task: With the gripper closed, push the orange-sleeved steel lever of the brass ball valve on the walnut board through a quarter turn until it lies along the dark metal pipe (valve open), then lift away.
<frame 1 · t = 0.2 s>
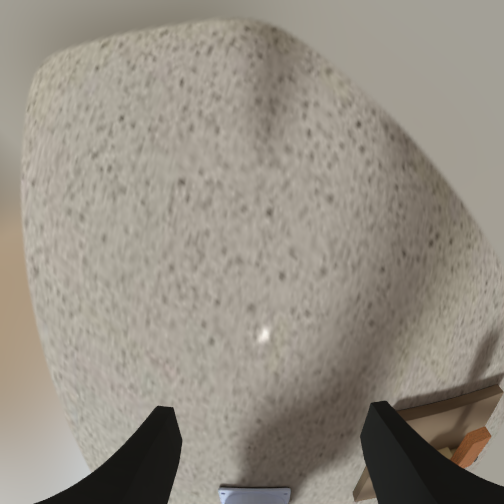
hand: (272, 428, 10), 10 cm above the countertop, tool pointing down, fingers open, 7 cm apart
valve lever: (455, 468, 18), point 6 cm above the countertop, hinge at 0.0°
valve base: (421, 452, 25), on the countertop
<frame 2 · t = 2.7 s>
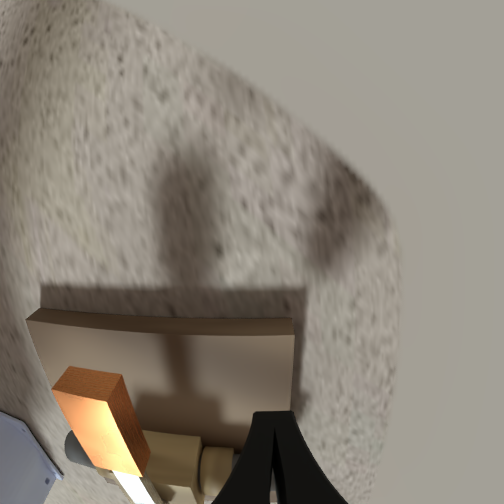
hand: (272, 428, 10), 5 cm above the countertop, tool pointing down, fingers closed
valve lever: (128, 469, 10), point 6 cm above the countertop, hinge at 0.0°
valve base: (174, 435, 17), on the countertop
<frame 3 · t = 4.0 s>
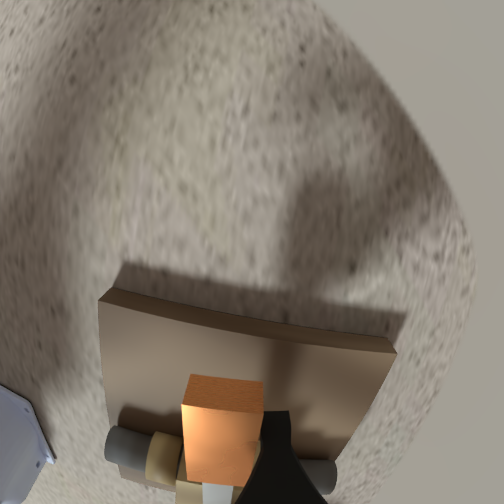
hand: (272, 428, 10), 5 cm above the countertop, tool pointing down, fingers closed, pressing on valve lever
valve lever: (218, 480, 10), point 6 cm above the countertop, hinge at 5.4°, touching gripper
valve base: (224, 436, 17), on the countertop
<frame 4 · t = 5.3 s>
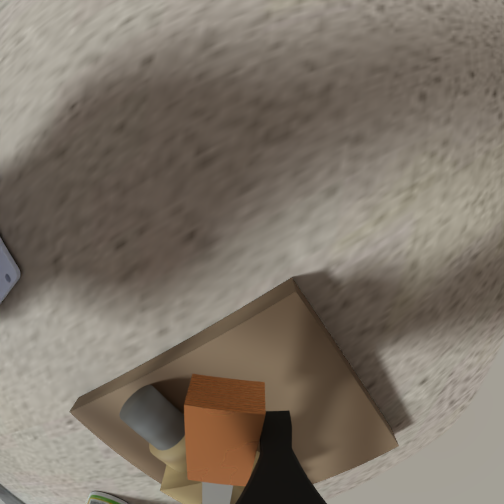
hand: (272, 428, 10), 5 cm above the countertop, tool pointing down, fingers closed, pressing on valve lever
valve lever: (218, 479, 10), point 6 cm above the countertop, hinge at 49.1°, touching gripper
supplement bottle: (113, 501, 22), on the countertop
valve base: (223, 435, 17), on the countertop
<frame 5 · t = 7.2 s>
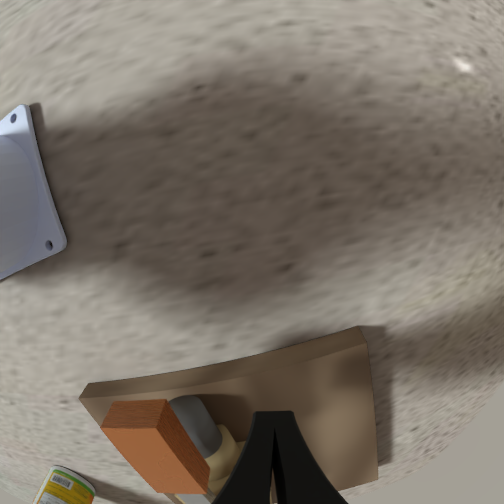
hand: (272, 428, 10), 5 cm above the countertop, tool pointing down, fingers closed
valve lever: (191, 489, 10), point 6 cm above the countertop, hinge at 87.0°
supplement bottle: (74, 478, 21), on the countertop
valve base: (231, 446, 17), on the countertop
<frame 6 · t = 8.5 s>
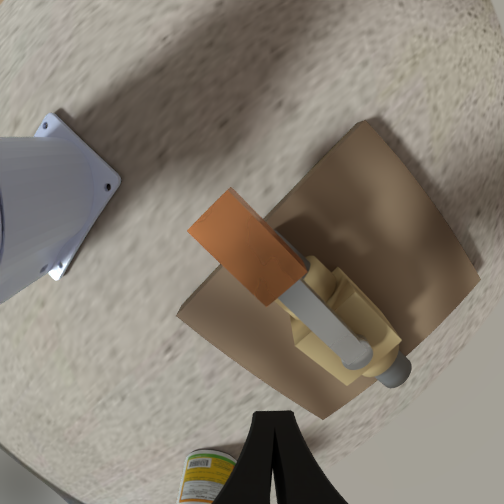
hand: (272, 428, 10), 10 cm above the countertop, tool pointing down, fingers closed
valve lever: (298, 296, 13), point 6 cm above the countertop, hinge at 87.0°
supplement bottle: (212, 460, 25), on the countertop
valve base: (331, 301, 20), on the countertop
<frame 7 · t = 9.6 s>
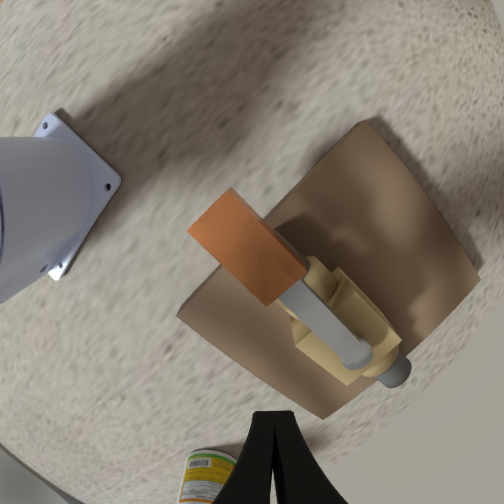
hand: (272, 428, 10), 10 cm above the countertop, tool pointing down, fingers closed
valve lever: (298, 296, 13), point 6 cm above the countertop, hinge at 87.0°
supplement bottle: (212, 460, 25), on the countertop
valve base: (331, 301, 20), on the countertop
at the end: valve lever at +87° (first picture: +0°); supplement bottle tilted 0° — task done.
